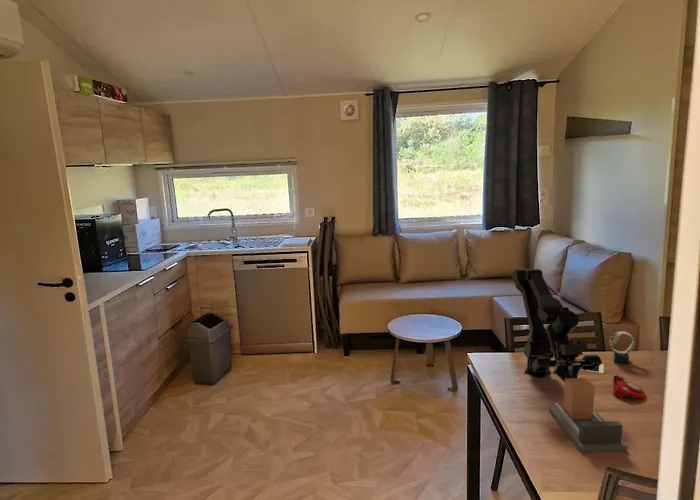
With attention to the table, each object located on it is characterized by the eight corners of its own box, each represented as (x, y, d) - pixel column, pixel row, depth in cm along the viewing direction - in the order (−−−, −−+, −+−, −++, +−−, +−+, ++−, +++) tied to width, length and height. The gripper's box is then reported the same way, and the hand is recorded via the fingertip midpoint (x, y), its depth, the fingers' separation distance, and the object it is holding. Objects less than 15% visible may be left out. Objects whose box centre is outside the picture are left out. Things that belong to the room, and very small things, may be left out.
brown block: (563, 410, 141) (565, 378, 139) (584, 409, 141) (586, 377, 139) (570, 419, 136) (572, 387, 134) (592, 419, 136) (594, 386, 134)
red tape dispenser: (653, 392, 150) (636, 394, 145) (647, 404, 151) (630, 406, 146) (618, 370, 160) (601, 371, 155) (612, 381, 161) (595, 382, 156)
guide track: (549, 411, 144) (549, 391, 142) (589, 409, 144) (590, 389, 142) (580, 452, 124) (581, 429, 123) (627, 450, 124) (629, 427, 123)
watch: (607, 356, 179) (609, 328, 176) (632, 359, 175) (634, 330, 173) (608, 362, 174) (610, 333, 171) (633, 365, 170) (636, 336, 168)
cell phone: (555, 358, 180) (555, 356, 180) (603, 365, 172) (603, 364, 172) (552, 366, 173) (552, 365, 173) (603, 374, 166) (603, 373, 166)
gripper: (537, 331, 142) (550, 383, 133) (600, 329, 142) (618, 381, 133) (526, 346, 151) (538, 396, 142) (586, 344, 151) (602, 394, 142)
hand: (574, 391), depth 140 cm, fingers closed, pressing on brown block
